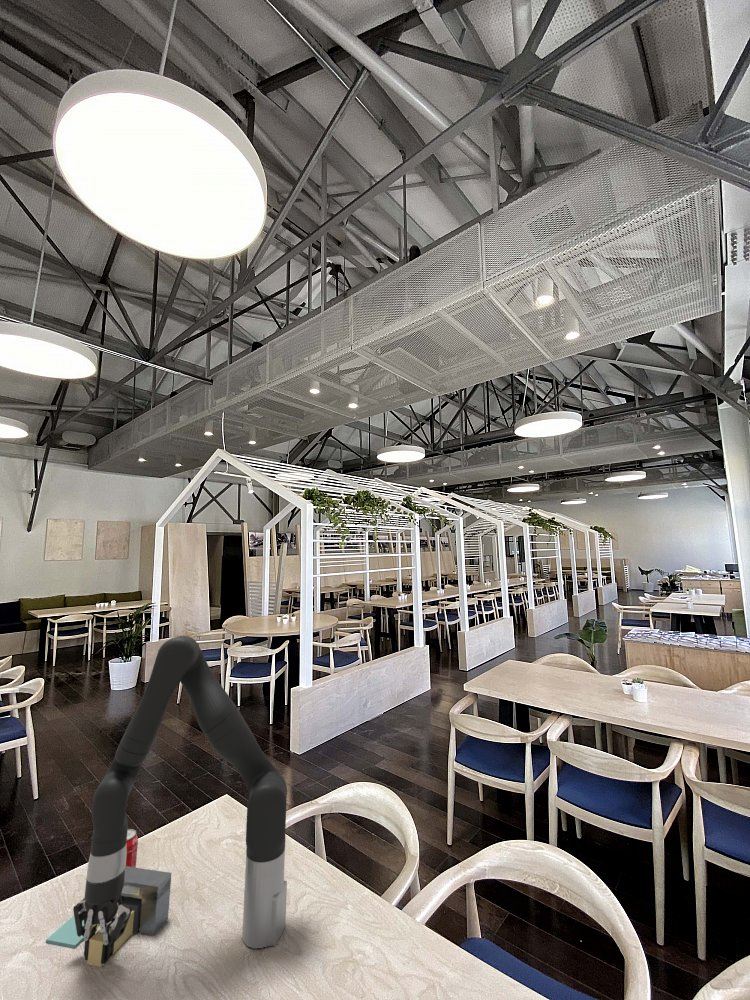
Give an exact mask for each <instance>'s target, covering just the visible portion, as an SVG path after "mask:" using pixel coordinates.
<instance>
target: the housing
mask: <svg viewBox="0 0 750 1000" xmlns="http://www.w3.org/2000/svg"><path fill="white" fill-rule="evenodd" d="M171 883H172V872H168V871H162V870H154V869H147V868H141V867H136V868H135V867H128V866H126V867H125V878H124V887H123V890H122V893H121V900H122V901H123V900H124V899H125V898H127V897H133V898H140V899H142V905H141V916H140V928H139V930H138V933H139V934H144V935H147V936H155V935H156V934H157V932H159V930H160V929H161V928H162V927H163V925H164V924H165V923H167V921H168V920H169V913H170V912H169V910H170V899H171V885H172V884H171Z"/></svg>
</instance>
